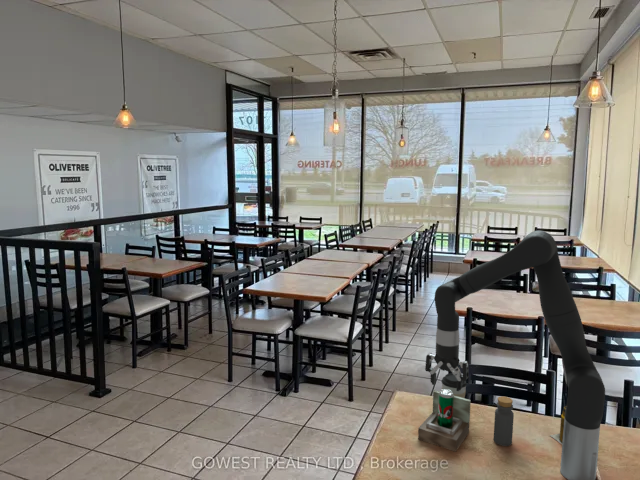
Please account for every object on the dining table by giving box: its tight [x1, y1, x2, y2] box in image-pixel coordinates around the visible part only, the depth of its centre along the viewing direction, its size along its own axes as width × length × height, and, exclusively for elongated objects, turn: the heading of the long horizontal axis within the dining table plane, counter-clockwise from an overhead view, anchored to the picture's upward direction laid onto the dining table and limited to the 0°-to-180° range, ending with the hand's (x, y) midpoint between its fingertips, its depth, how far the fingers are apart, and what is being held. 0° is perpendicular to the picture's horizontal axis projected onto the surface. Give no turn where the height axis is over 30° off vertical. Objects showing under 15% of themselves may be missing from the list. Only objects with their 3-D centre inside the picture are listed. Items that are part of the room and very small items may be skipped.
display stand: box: [417, 390, 472, 452], centre depth 161 cm, size 13×14×12 cm
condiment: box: [549, 405, 567, 445], centre depth 159 cm, size 7×8×12 cm
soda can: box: [437, 388, 454, 428], centre depth 161 cm, size 5×5×12 cm
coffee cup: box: [440, 372, 468, 399], centre depth 176 cm, size 9×9×15 cm
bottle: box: [493, 395, 515, 447], centre depth 158 cm, size 6×6×15 cm
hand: (446, 387), depth 160 cm, fingers open, 8 cm apart
